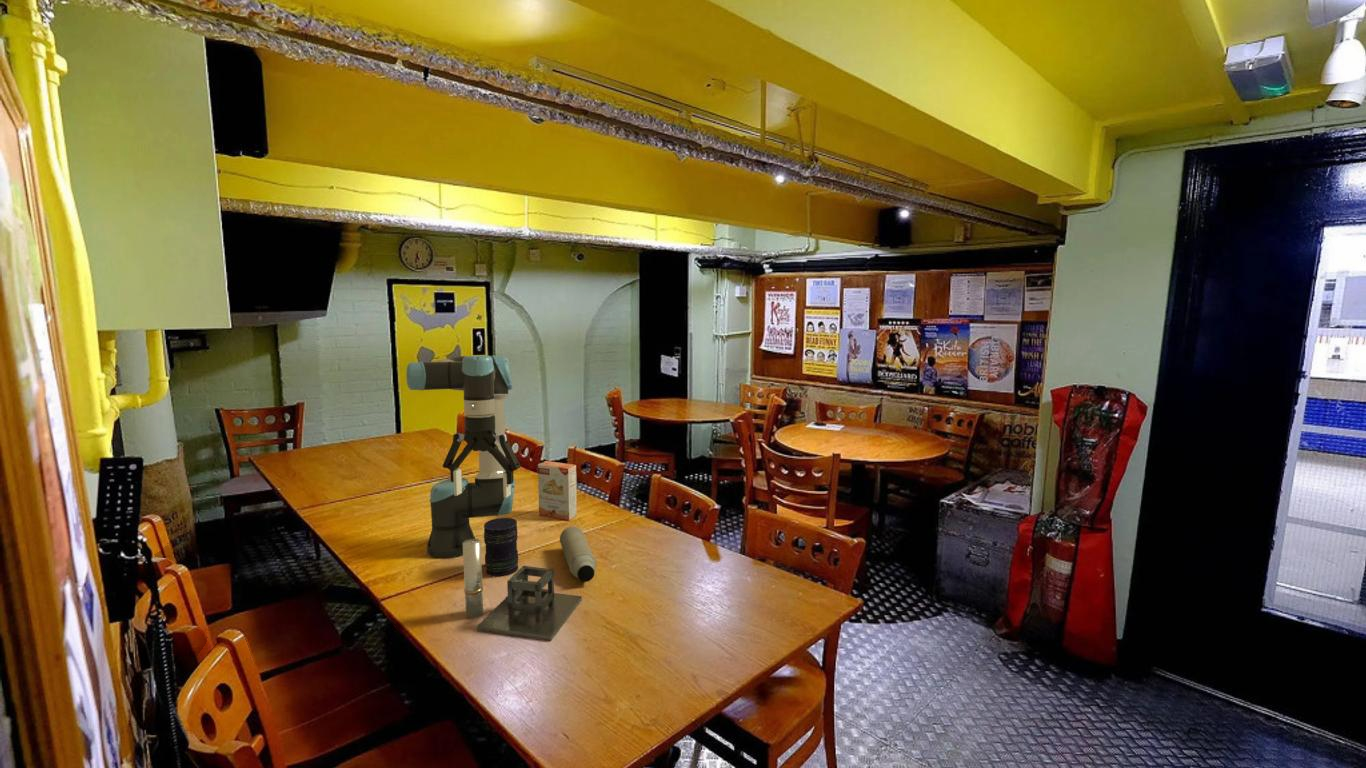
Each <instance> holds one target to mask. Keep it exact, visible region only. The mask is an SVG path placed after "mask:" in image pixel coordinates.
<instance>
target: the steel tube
mask: <svg viewBox="0 0 1366 768" xmlns="http://www.w3.org/2000/svg"><path fill="white" fill-rule="evenodd" d="M481 545H482V543H481V539H478V538H475V539H469V540H466V541H464V542H463V555H462V558H463V559H462V560H463V561H462V562H463V581H464V582H463V583H464V589H463V590H464V591H463V592H464V599H465V600H464V601H465V604H464V605H465V606H464V607H465V617H466V618H467V619H477V618H480V617H481V616H483V614H484V596H483V595H484V594H483V590H484V587H483V571H482V570H483V566H482V548H481V547H482V546H481Z"/></svg>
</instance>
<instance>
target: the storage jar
mask: <svg viewBox="0 0 1366 768" xmlns="http://www.w3.org/2000/svg"><path fill="white" fill-rule="evenodd" d="M517 524H518V521H517V520H516V519H514V518H512V517H511V518H510V517H497V518H493V519H490V520H488V521H486V522H485V523H484V525H483V527H484V532H483V538H484V539H483V540H484V545H485V554H484V564H485V574H487V576H489V575H490V576H489V577H493V576H494V577H493V578H501V577H502V576H503V577H507V576H510V575H514V574H515V573H516V572H517V571H518V570H519V551H518V548H517V547H518V546H517V545H518V543H517V541H518V525H517ZM503 577H502V578H503Z"/></svg>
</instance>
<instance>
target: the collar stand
mask: <svg viewBox="0 0 1366 768" xmlns="http://www.w3.org/2000/svg"><path fill="white" fill-rule="evenodd" d="M554 575H555V569H554V568H547V567H539V566H538V567H537V566H530V565H529V566H526V565H522V566H521V567H520V569H518V570H517V571H516V572H515V573H513V574H512V576H511V577H510V578H509V579H507V581H506V582H507V583H506V585H507V596H506V597H505V598H504V599H503V600H502V601H501V602H499V604H498V605H497V606H496V607H495V608H494V609H493V610H492V611H491V612H490V613H489V614H488V615H487V616H486V617H485V618H484V619H483V620H481V622H479V624H478V625H477V626H476V631H477V632H484V633H491V634H499V635H505V636H512V637H520V638H527V639H535V640H542V641H549V642H551V641H552V640H553V639H554V638H555V636H556V635H557V634H558V632H559V631H560V630H561V628H562V627H563V625H564V624H565V623H566V622H567V620H568V619H569V618H570V616H571V615H572V614H573V612H574V611H575V610H576V609H577V607H578V606H579V605H580V603H581V602H582V601H583V599H582V598H583V597H582V595H575V594H567V593H559V592H558V593H557V592H555V576H554ZM529 576H530V577H538V578H539V579H538V580H537V581H534V580H533V581H532V580H529ZM546 585H547V589H546V588H544V587H546Z"/></svg>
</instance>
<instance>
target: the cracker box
mask: <svg viewBox="0 0 1366 768" xmlns="http://www.w3.org/2000/svg"><path fill="white" fill-rule="evenodd" d="M537 479H538V481H537V484H538V487H537V488H538V489H537V490H538V515H539V516H542V517H547V518H552V519H557V520H562V521H571V520H573V519H575V518H576V517H577V516H578V502H577V501H578V500H577V499H578V496H577V495H578V492H577V490H578V489H577V465H576V464H571V463H564V462H556V461H550V460H545V461H543V462H540V463H538V464H537Z"/></svg>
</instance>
